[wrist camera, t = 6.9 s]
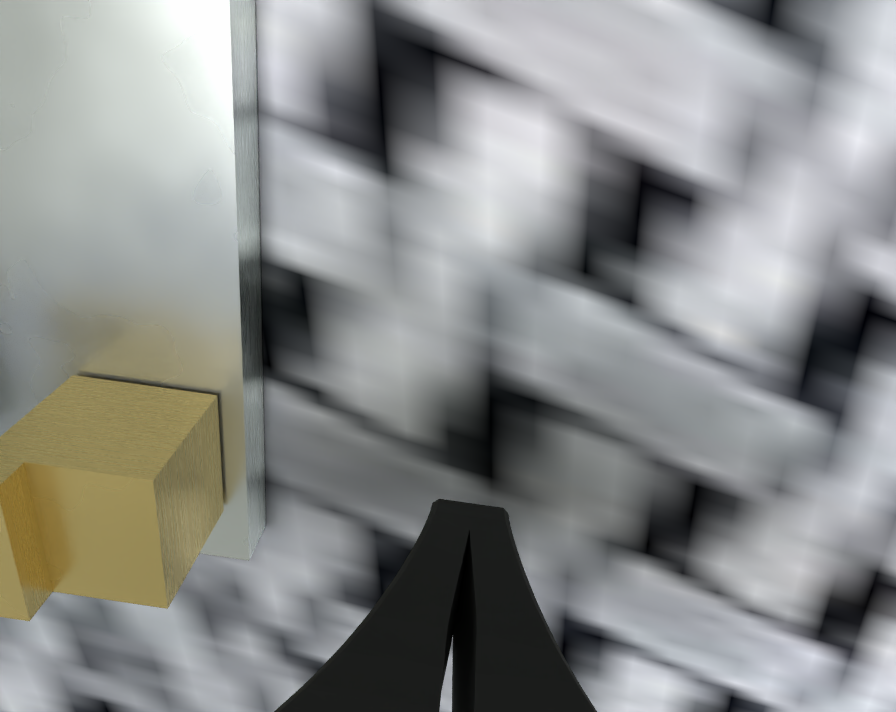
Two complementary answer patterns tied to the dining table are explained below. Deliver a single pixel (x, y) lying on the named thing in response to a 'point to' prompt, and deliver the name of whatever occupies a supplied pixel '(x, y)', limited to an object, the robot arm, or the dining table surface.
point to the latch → (107, 494)
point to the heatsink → (136, 216)
